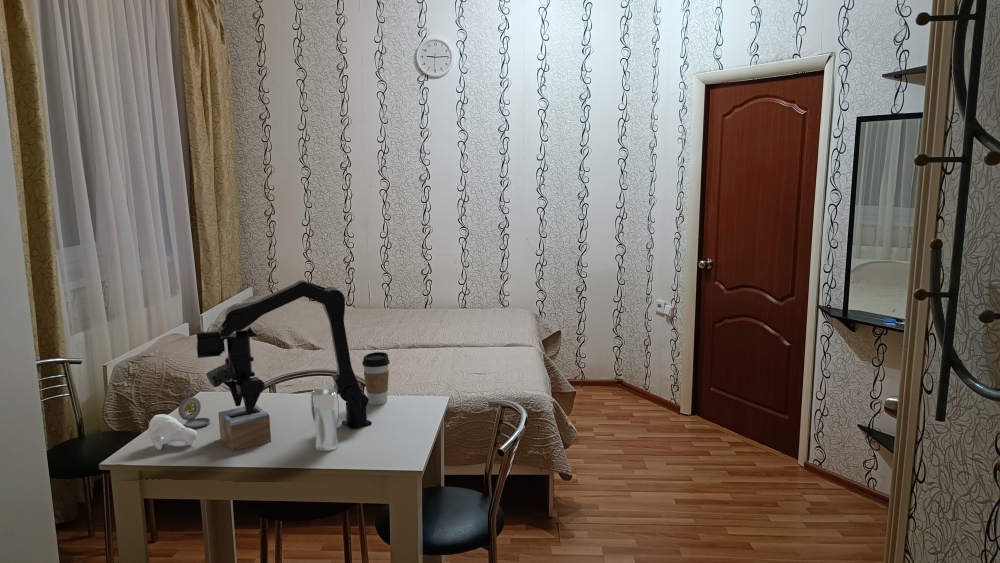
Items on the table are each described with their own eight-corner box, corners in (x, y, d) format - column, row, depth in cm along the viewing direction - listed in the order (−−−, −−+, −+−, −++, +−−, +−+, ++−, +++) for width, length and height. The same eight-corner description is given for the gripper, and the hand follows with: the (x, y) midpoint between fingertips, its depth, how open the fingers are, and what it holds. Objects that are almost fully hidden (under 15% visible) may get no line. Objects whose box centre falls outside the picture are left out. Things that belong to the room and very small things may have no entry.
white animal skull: (156, 410, 195) (201, 413, 195) (155, 440, 196) (200, 443, 197) (145, 418, 189) (192, 421, 189) (145, 449, 190) (191, 452, 190)
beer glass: (327, 454, 186) (323, 397, 183) (307, 449, 189) (304, 393, 187) (346, 445, 192) (343, 390, 189) (327, 440, 195) (324, 386, 193)
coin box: (271, 441, 195) (269, 414, 194) (233, 450, 189) (231, 422, 188) (257, 430, 204) (255, 404, 203) (220, 438, 198) (218, 411, 197)
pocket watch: (204, 428, 205) (201, 394, 204) (175, 429, 206) (172, 395, 204) (216, 419, 213) (213, 386, 212) (187, 419, 214) (185, 386, 212)
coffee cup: (396, 399, 229) (394, 352, 227) (383, 407, 222) (381, 359, 219) (372, 396, 232) (370, 351, 230) (358, 404, 224) (356, 357, 222)
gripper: (197, 352, 195) (202, 408, 198) (218, 366, 181) (223, 426, 183) (239, 345, 202) (243, 399, 204) (263, 358, 187) (267, 416, 190)
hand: (243, 410), depth 195 cm, fingers open, 9 cm apart
